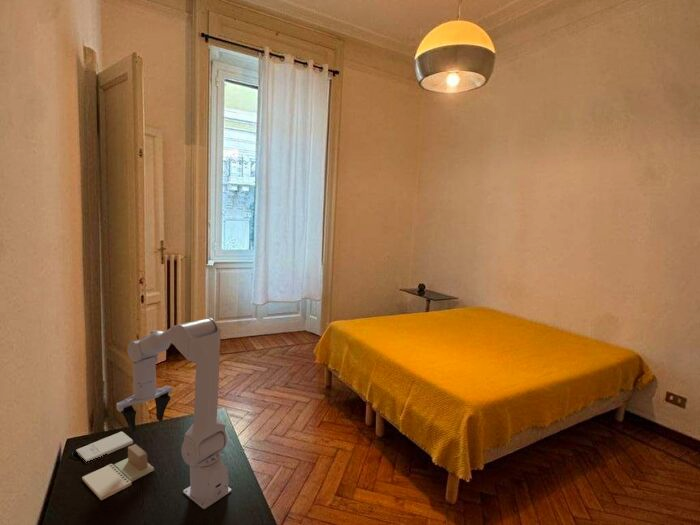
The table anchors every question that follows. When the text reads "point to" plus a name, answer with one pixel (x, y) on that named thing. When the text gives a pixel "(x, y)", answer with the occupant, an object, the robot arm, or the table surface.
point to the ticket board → (106, 481)
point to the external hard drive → (104, 446)
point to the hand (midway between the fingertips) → (146, 425)
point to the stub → (134, 464)
